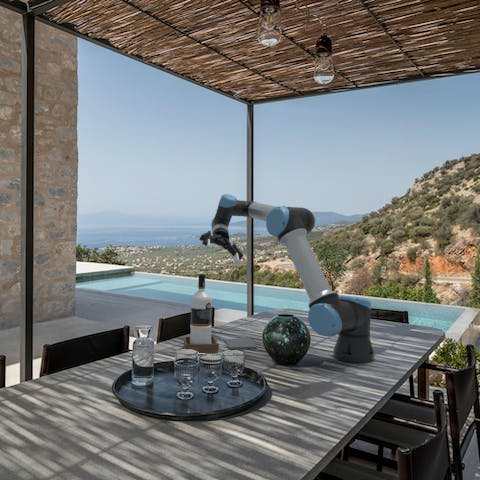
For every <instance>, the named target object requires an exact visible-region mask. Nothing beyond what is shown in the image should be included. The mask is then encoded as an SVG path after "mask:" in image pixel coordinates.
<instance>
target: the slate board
mask: <svg viewBox="0 0 480 480" xmlns="http://www.w3.org/2000/svg"><path fill="white" fill-rule="evenodd" d="M224 342H226V343H227V345H228V346H227V345H226V346H227V348H228V347H229V348H228V350H229V349H238V350H237V351H239V350H244V351H245V350H257V348H258V346H257V345H256V344H255V343H254V341H253V340H252V339H251V338H250V337H249V338H241V337H240V338H224ZM226 343H225V344H226Z"/></svg>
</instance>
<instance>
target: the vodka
mask: <svg viewBox="0 0 480 480" xmlns="http://www.w3.org/2000/svg"><path fill="white" fill-rule="evenodd" d="M212 304H213V297H212V295H210V293H208V292H207V291H206V274H202V273H199V274H198V289H197V291H196V292H195V293H193V294H192V295H191V297H190V324H189V327H190V336H189V337H190V343H189V344H212V341H211V336H212V327H213V326H212V312H213V311H212V309H213V308H212V307H213V305H212Z"/></svg>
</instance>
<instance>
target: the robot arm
mask: <svg viewBox="0 0 480 480" xmlns="http://www.w3.org/2000/svg"><path fill="white" fill-rule="evenodd" d="M233 217H245V218H246V217H247V218H252V219H256V220H260V221H264V222H265V225H266V231H267V232H268V234H269V235H271V236H272V237H277V240H278V242H279V244H280V245H281V246H284V247H285V248H286V252H287V253H288V256H290V259H291V262H292V263H293V266H294V268H295V270H296V272H297V275H298V276H299V278H300V281H301V283H302V285H303V287H304V290H305V292H306V294H307V295H308V298H309V303H308V308H309V310H308V312H307V313H308V314H307V315H308V316H307V321H308V323H309V325H310V328H311V329H312V331H314V332H315V333H316V334H317V335H320V336H322V337H335V336H337V335H338V337H337V340H336V342H335V345H334V348H333V350H332V351H333V353H332V354H333V357H334V358H335V359H337V360H339V361H343V362H349V363H356V364H357V363H370V362H373V361H374V360H375V351H374V347H373V345H372V344H373V343H372V342H371V316H372V315H371V314H372V308H371V307H372V305H371V301H370V300H369V298H364V297H357V296H349V295H340V296H339V294H338V292H337V291H333V290H332V288H331V286H330V285H329V282H328V281H327V278H326V276H325V274H324V272H323V270H322V268H321V266H320V263H319V262H318V259H317V258H316V256H315V254H314V252H313V249H312V248H311V245H310V243H309V242H308V240H307V237H306V236H307V235H308V234H309V233H311V232H312V231H313V230H314V228H315V225H316V224H315V223H316V218H315V216H314V213H313V212H312V211H311V210H310V209H308V208H306V207H299V206H298V207H297V206H286V205H280V206H275V205H271V204H270V205H269V204H266V203H259V202H257V201H253V200H240V199H239V200H238V198H237V197H236V196H234V195H232V194H229V193H224V194H222V195H221V196H220V199H219V201H218V205H217V208H216V212H215V215H214V218H213V219H212V220H211V230H208V231H207V232H206V233H205V232H204V233H203V234H202V233H201V235H200V236H199V239H198V240H199V241H201V242H202V245H203V246H205V247H204V251H205V252H208V250H209V249H210V247H211V244H214V245H216V246H220V247H222V248H223V249H224V250H226V251H228V253H230V254H231V255H232V258H233V264H234V265H235V266H237V265H238V263H239V262H240V261H241V260H242V258H244V254H243V253H242V252H241V250H240V249H239V248H238V246H237V244H236V243H235V242H233V243H231V241H230V233H229V226H230V222H231V220H232V218H233Z"/></svg>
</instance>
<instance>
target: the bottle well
mask: <svg viewBox="0 0 480 480" xmlns="http://www.w3.org/2000/svg"><path fill="white" fill-rule="evenodd" d="M211 341H212V344H189V343H190V336H183V343H182V344H183V350H184V349H193V350H196V351H198V352H199V353H220V352H219V351H220V350H219V349H220V347H219V346H220V344H219V342H218V340H217V338H216V336H215V335H213V336H212V335H211Z"/></svg>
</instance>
